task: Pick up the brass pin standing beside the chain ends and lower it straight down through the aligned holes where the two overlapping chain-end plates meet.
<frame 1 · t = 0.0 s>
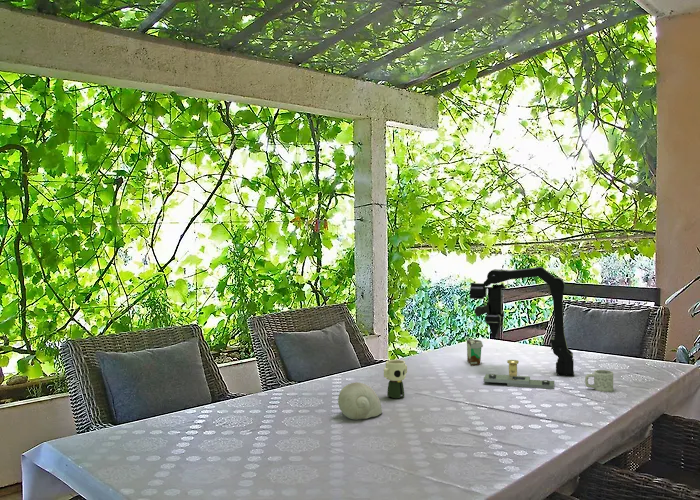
hand: (494, 336, 279), 15 cm above the table, fingers open, 9 cm apart
seashell: (359, 415, 218), on the table
character mug: (395, 397, 238), on the table
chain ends: (518, 384, 255), on the table
food container: (475, 364, 294), on the table
mug: (599, 390, 246), on the table
brass pin: (513, 378, 265), on the table
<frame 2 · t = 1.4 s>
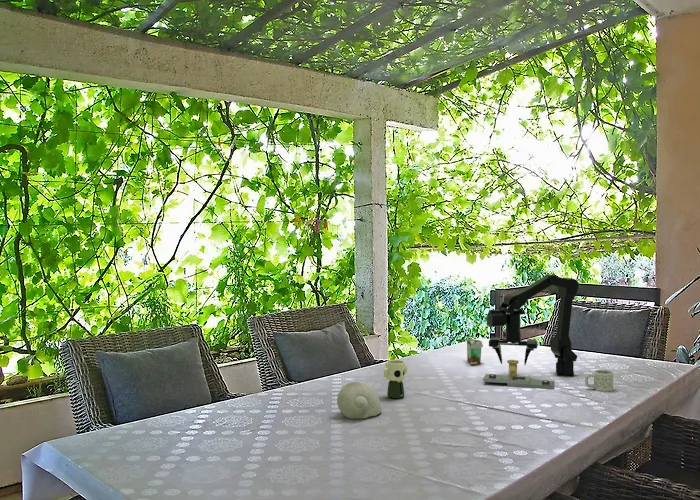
hand: (513, 364, 265), 6 cm above the table, fingers open, 9 cm apart
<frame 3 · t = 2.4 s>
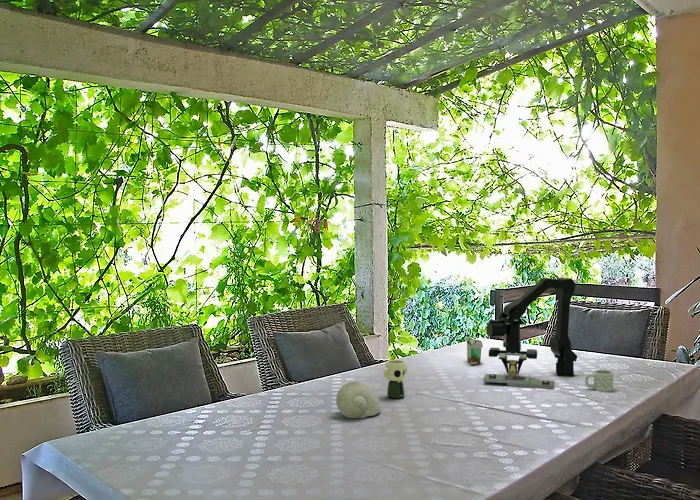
hand: (513, 374, 265), 2 cm above the table, fingers closed on brass pin, 3 cm apart
brass pin: (513, 378, 265), on the table, touching gripper
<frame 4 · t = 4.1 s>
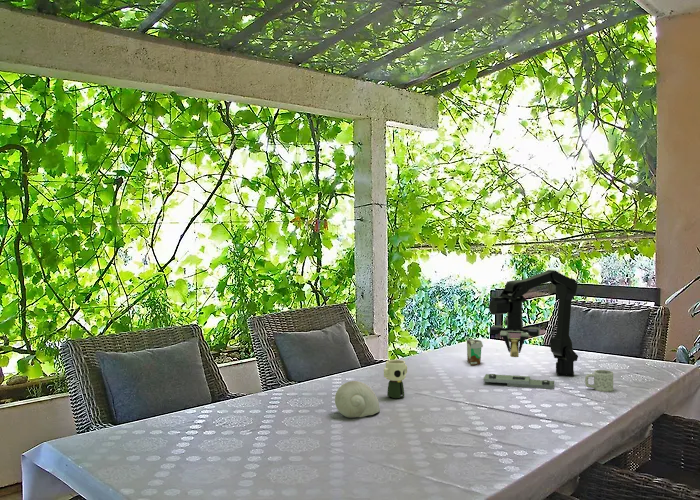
hand: (514, 352, 261), 11 cm above the table, fingers closed on brass pin, 3 cm apart
brass pin: (514, 356, 261), point 10 cm above the table, touching gripper
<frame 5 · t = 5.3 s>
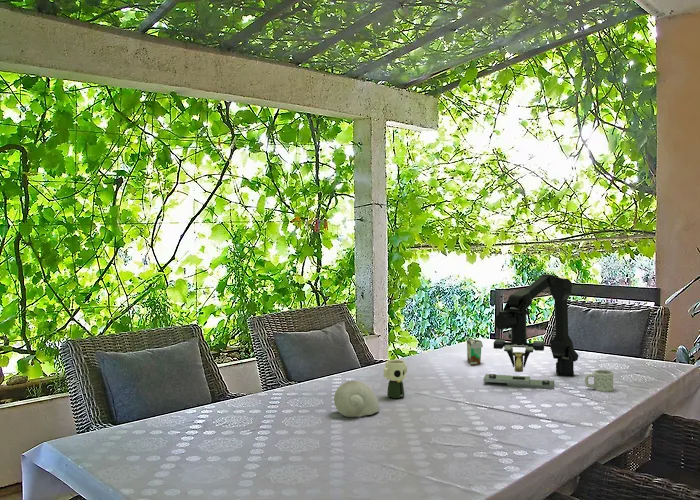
hand: (518, 367, 255), 7 cm above the table, fingers closed on brass pin, 3 cm apart
brass pin: (518, 371, 255), point 5 cm above the table, touching gripper
when the fingers open (3 cm above the table, at t = 6.1 s): brass pin drops 2 cm, resting in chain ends.
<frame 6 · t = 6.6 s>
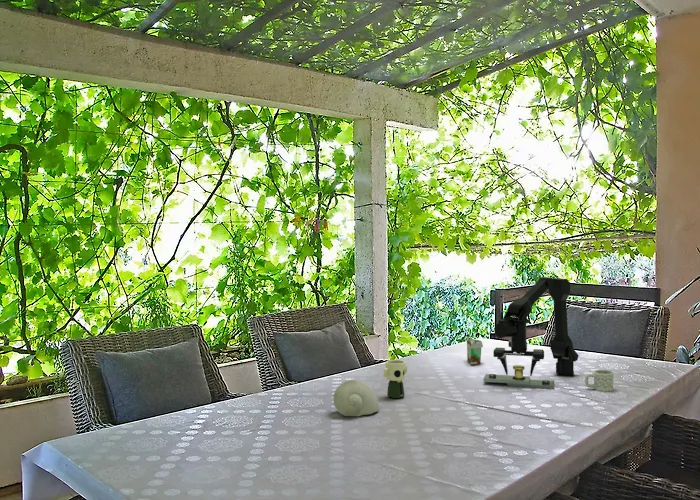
hand: (518, 375, 255), 3 cm above the table, fingers open, 9 cm apart
brass pin: (518, 384, 255), resting in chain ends
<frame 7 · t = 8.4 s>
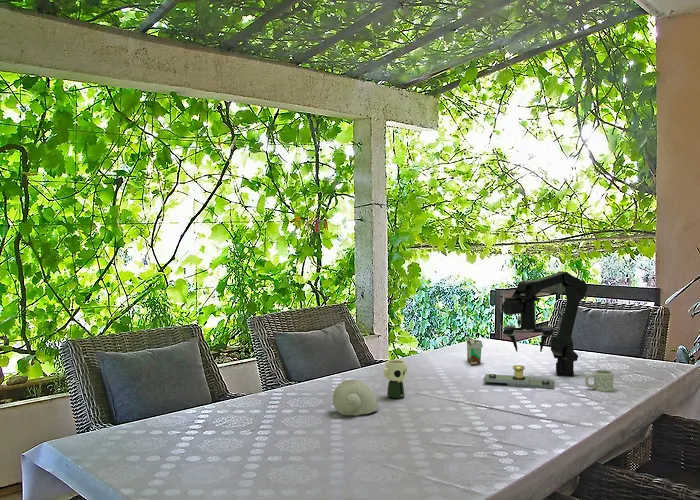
hand: (528, 351, 262), 11 cm above the table, fingers open, 9 cm apart
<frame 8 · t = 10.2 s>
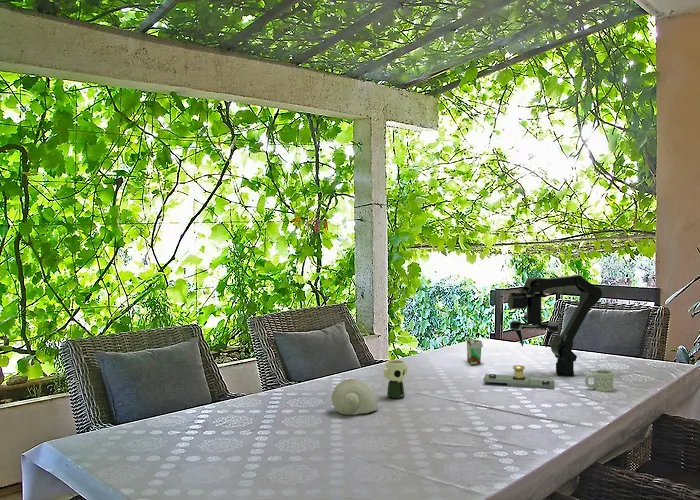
hand: (534, 346, 268), 12 cm above the table, fingers open, 9 cm apart
at the end: brass pin 0.0 cm off-centre on the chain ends, point 0.0 cm above the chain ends's base; brass pin tilted 0°; the gripper is holding nothing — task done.
